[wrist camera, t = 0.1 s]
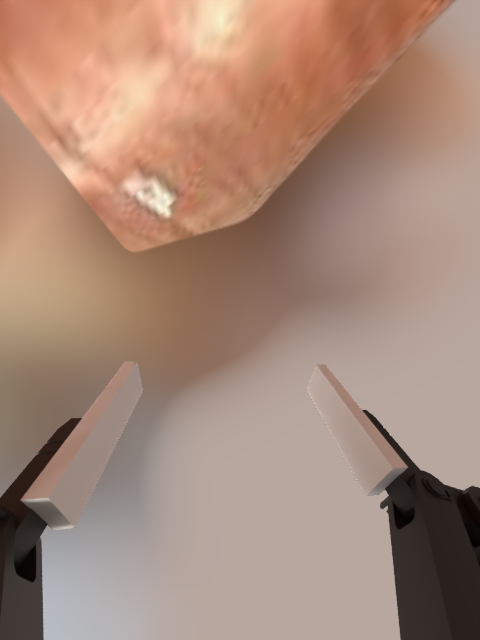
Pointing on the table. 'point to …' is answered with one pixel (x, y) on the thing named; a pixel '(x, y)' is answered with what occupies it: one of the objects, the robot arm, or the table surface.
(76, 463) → the robot arm
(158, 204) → the table surface
